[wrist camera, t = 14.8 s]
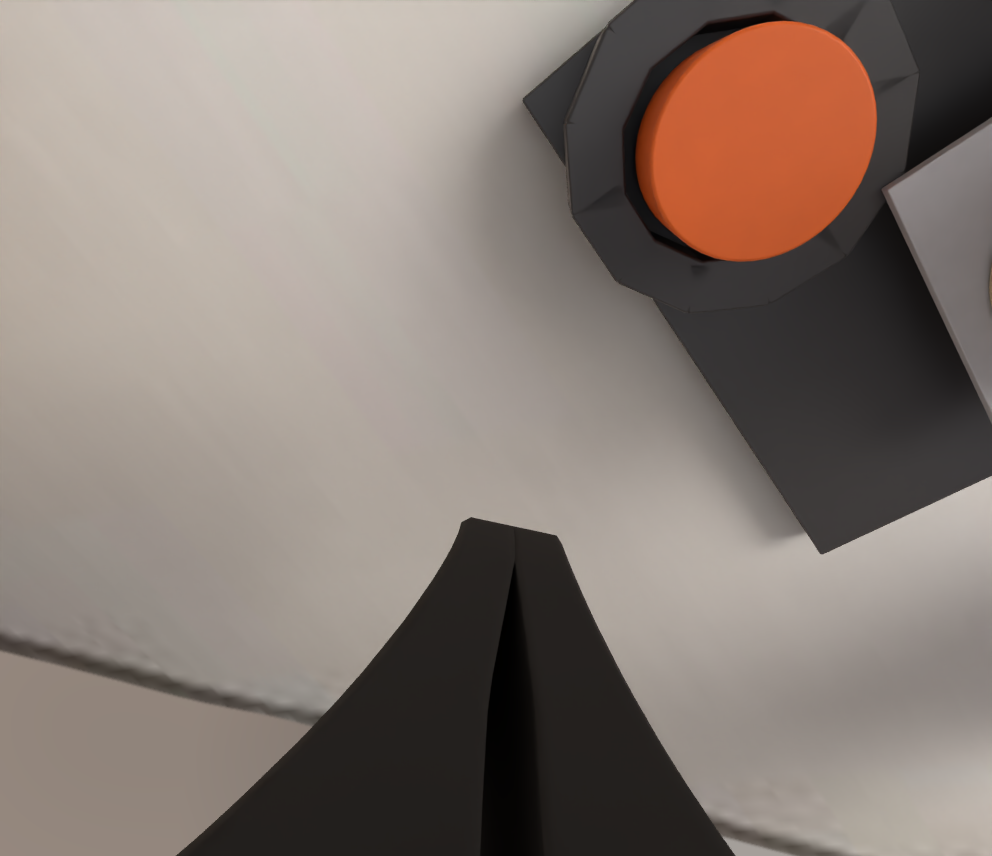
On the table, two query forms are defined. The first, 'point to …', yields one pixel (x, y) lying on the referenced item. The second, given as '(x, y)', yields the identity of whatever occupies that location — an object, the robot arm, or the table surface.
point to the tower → (954, 243)
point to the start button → (757, 140)
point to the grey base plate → (800, 258)
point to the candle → (990, 286)
